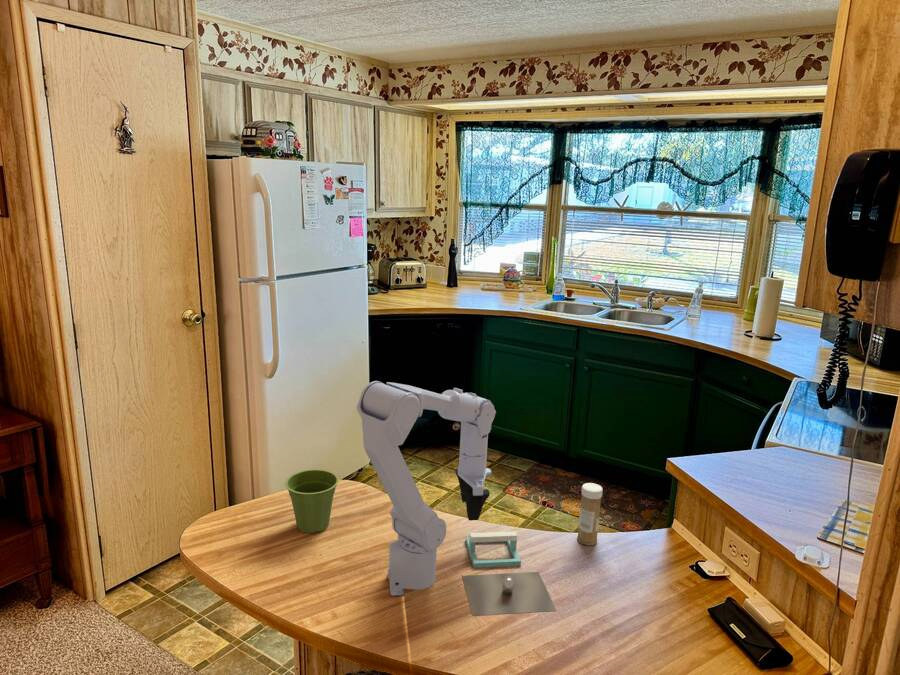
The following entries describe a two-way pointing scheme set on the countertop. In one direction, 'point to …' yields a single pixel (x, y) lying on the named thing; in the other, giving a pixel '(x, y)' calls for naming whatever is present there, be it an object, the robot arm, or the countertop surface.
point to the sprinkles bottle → (589, 513)
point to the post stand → (507, 593)
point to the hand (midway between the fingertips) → (469, 510)
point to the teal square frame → (493, 537)
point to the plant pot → (312, 498)
